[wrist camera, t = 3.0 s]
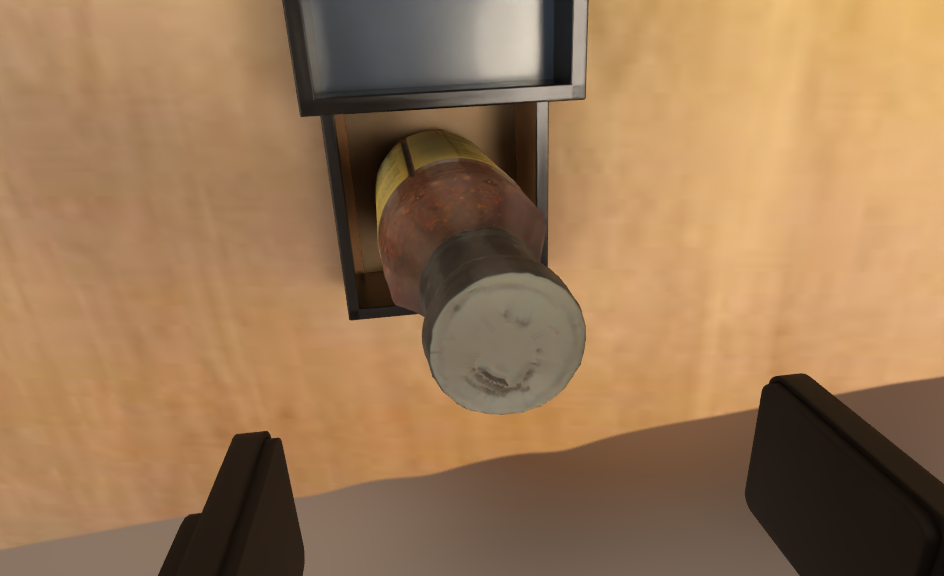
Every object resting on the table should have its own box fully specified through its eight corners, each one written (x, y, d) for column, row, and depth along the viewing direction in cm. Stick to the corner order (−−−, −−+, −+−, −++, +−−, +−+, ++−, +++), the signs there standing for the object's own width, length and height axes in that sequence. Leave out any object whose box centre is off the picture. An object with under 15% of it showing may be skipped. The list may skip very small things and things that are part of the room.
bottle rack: (354, 283, 34) (340, 378, 25) (292, -180, 26) (234, -309, 16) (527, 267, 35) (578, 354, 26) (523, -182, 27) (598, -306, 17)
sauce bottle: (414, 256, 34) (442, 505, 16) (353, 163, 32) (304, 332, 13) (513, 198, 33) (659, 390, 15) (459, 99, 31) (556, 186, 13)
